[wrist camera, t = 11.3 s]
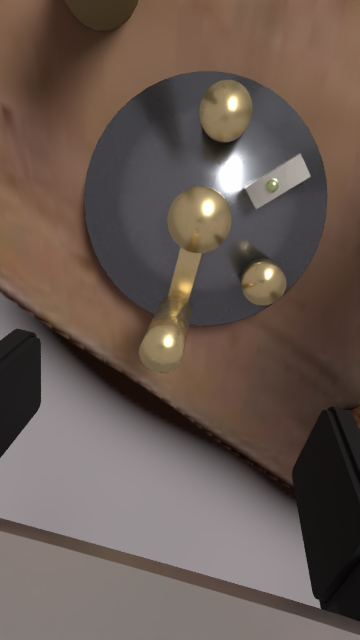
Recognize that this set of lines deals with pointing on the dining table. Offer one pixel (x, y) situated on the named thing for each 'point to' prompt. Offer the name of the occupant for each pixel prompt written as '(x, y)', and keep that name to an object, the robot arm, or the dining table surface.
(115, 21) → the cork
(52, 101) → the dining table surface
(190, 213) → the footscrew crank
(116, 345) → the dining table surface
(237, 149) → the base
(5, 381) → the robot arm
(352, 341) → the dining table surface
